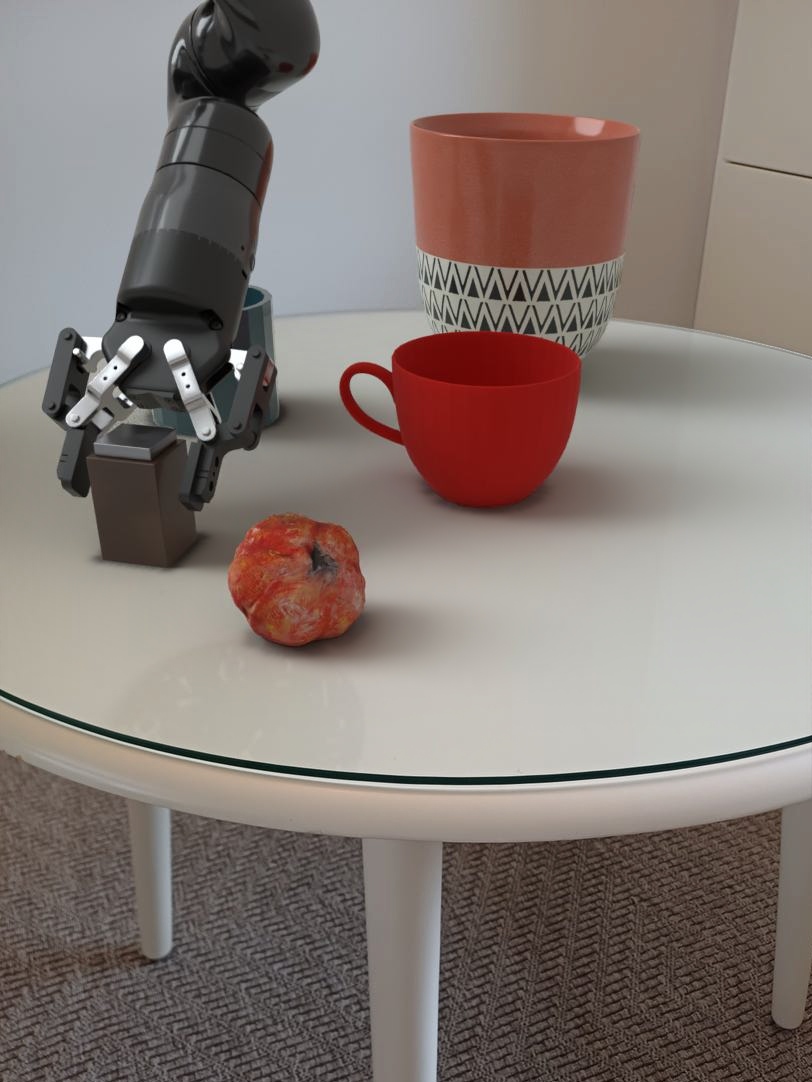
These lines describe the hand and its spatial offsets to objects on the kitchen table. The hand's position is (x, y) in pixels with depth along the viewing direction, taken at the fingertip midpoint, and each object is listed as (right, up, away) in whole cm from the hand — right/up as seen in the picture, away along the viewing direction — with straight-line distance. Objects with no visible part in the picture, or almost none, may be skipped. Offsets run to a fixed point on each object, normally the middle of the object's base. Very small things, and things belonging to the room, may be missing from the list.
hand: (131, 499), depth 68 cm
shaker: (0, -3, +4) cm, 5 cm away
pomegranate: (+11, -8, -4) cm, 14 cm away
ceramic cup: (+19, +2, +14) cm, 24 cm away
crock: (-1, +10, +25) cm, 27 cm away
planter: (+24, +16, +37) cm, 47 cm away
